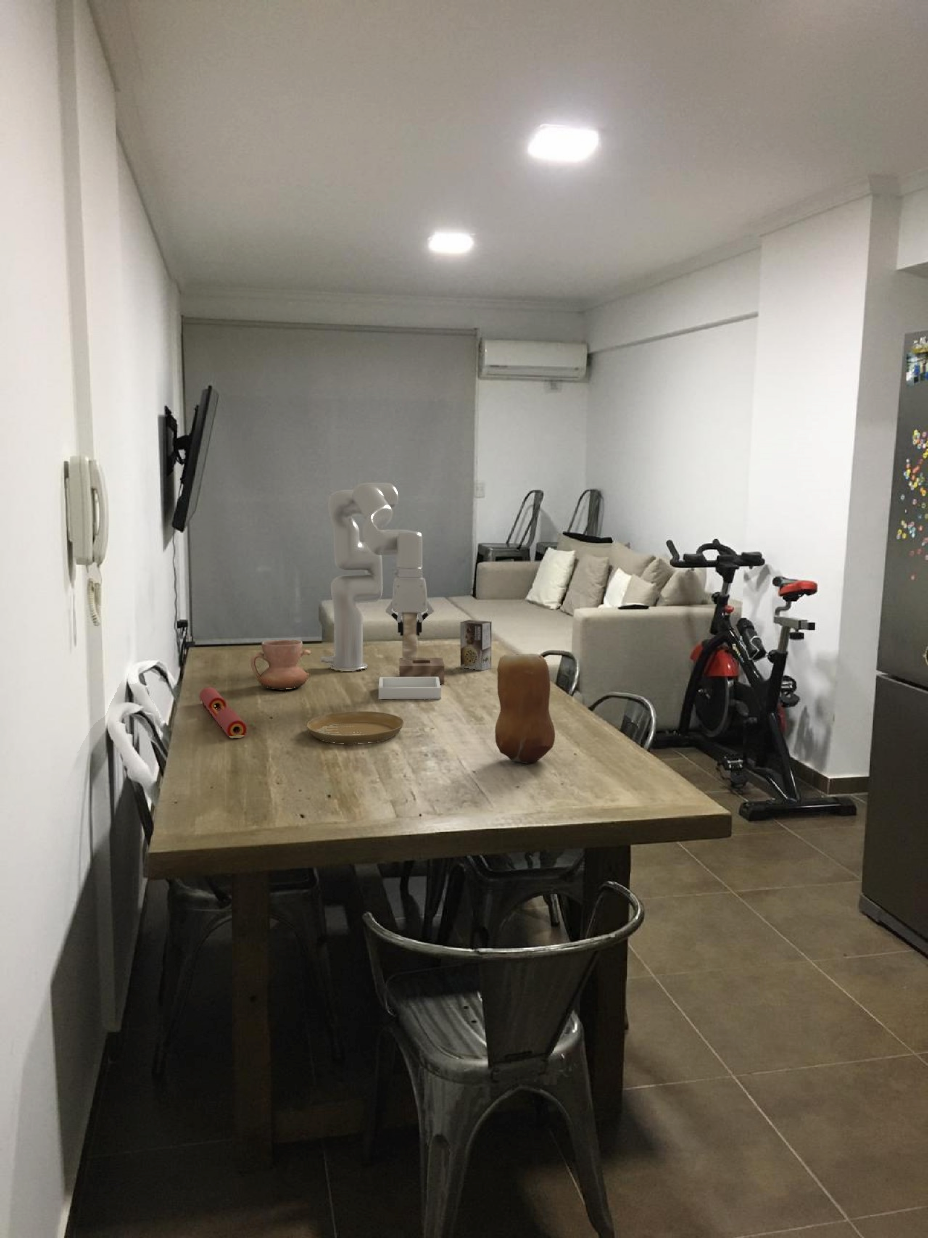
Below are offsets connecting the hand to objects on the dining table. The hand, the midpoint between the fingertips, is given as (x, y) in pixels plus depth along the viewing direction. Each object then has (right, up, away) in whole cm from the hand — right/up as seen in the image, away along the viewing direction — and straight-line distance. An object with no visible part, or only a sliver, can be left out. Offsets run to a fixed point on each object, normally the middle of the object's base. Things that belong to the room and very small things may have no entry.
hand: (409, 634), depth 286 cm
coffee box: (+20, -12, +44) cm, 50 cm away
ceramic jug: (-40, -17, +10) cm, 44 cm away
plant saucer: (-11, -25, -44) cm, 51 cm away
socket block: (+2, -15, +23) cm, 27 cm away
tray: (0, -18, +3) cm, 18 cm away
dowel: (0, -7, +1) cm, 7 cm away
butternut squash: (+30, -28, -67) cm, 78 cm away
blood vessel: (-48, -22, -30) cm, 61 cm away
